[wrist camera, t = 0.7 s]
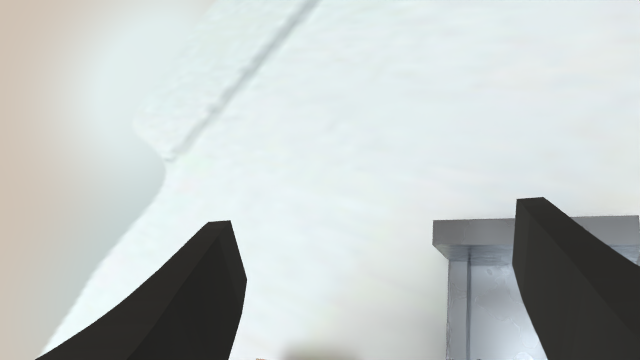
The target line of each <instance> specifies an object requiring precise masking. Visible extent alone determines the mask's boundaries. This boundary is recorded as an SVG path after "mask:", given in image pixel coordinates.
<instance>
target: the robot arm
mask: <svg viewBox="0 0 640 360" xmlns="http://www.w3.org/2000/svg"><path fill="white" fill-rule="evenodd" d="M512 266H513V270H514V274H515V277H516V281H517V285H518V288H519V291H520V295H521V298H522V301H523V304H524V306H525V308H526V311H527V313H528V315H529V318H530V320H531V322H532V325H533V327H534V329H535V332H536V334H537V336H538V338H539V341H540V343H541V345H542V348H543V350H544V352H545V354H546V357H547V359H548V360H640V266H638V265H637V264H635V263H634V262H632V261H630V260H629V259H627V258H626V257H624V256H623V255H621V254H620V253H618V252H617V251H615V250H614V249H612V248H611V247H609V246H608V245H607V244H605V243H604V242H602V241H601V240H599V239H598V238H597V237H595V236H594V235H593V234H591V233H590V232H589V231H587V230H586V229H584V228H583V227H582V226H580V225H579V224H578V223H577V222H575V221H574V220H573V219H571V218H570V217H569V216H567V215H566V214H565V213H564V212H562V211H561V210H560V209H558V208H557V207H556V206H554V205H553V204H552V203H551V202H549V201H548V200H546V199H545V198H544V197H538V198H525V199H517V203H516V216H515V230H514V243H513V257H512ZM246 284H247V278H246V274H245V270H244V267H243V263H242V260H241V256H240V253H239V249H238V246H237V242H236V238H235V235H234V231H233V228H232V224H231V221H230V220H229V221H216V222H208V223H207V224H205V225H204V226H203V227H202V228H201V229H200V230H199V231H198V232H197V233H196V234H195V235H194V236H193V237H192V238H191V239H190V240H189V241H188V242H187V243H186V244H185V245H184V246H183V247H181V248H180V249H179V250H178V251H177V252H176V253H175V254H174V255H173V256H172V257H171V258H170V259H169V260H168V261H167V262H166V263H165V264H164V265H163V266H162V267H161V268H160V269H159V270H158V271H156V272H155V273H154V274H153V275H152V276H151V277H150V278H148V279H147V280H146V281H145V282H144V283H143V284H142V285H141V286H139V287H138V288H137V289H136V290H135V291H134V292H133V293H131V294H130V295H129V296H128V297H127V298H125V299H124V300H123V301H122V302H120V303H119V304H118V305H117V306H115V307H114V308H113V309H111V310H110V311H109V312H107V313H106V314H105V315H103V316H102V317H101V318H99V319H98V320H97V321H95V322H94V323H92V324H91V325H90V326H88V327H87V328H85V329H84V330H82V331H80V332H79V333H77V334H76V335H74V336H73V337H71V338H70V339H68V340H66V341H65V342H63V343H62V344H60V345H59V346H57V347H56V348H54V349H52V350H51V351H49V352H47V353H46V354H44V355H42V356H41V357H39V358H37V359H35V360H228V359H229V356H230V352H231V349H232V346H233V342H234V339H235V336H236V332H237V329H238V325H239V322H240V318H241V315H242V310H243V304H244V298H245V291H246Z"/></svg>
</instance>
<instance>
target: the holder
mask: <svg viewBox="0 0 640 360" xmlns="http://www.w3.org/2000/svg"><path fill="white" fill-rule="evenodd" d="M570 218H571V219H573V220H574V221H575V222H577V223H578V224H579V225H580V226H582V227H583V228H584V229H586V230H587V231H589V232H590V233H591V234H593V235H594V236H595V237H597V238H598V239H599V240H601V241H602V242H604V243H605V244H607V245H608V246H609V247H611V248H612V249H614V250H615V251H617V252H618V253H620V254H621V255H623V256H624V257H626V258H627V259H629V260H630V261H632V262H634V263H635V264H637V265H638V266H640V222H639V215H636V216H595V217H570ZM514 230H515V218H513V219H472V220H433V243H432V245H433V246H434V247H435V248H436V249H437V250H438V251H440V252H441V253H442V254H443V255H444V256H445V257H446V258H447V259H448V260H449V269H448V308H447V347H446V360H548V359H547V357H546V354H545V352H544V350H543V348H542V345H541V343H540V341H539V338H538V336H537V334H536V332H535V329H534V327H533V325H532V322H531V320H530V318H529V315H528V313H527V311H526V308H525V306H524V304H523V301H522V298H521V295H520V291H519V288H518V285H517V281H516V277H515V274H514V270H513V266H512V257H513V243H514Z"/></svg>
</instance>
